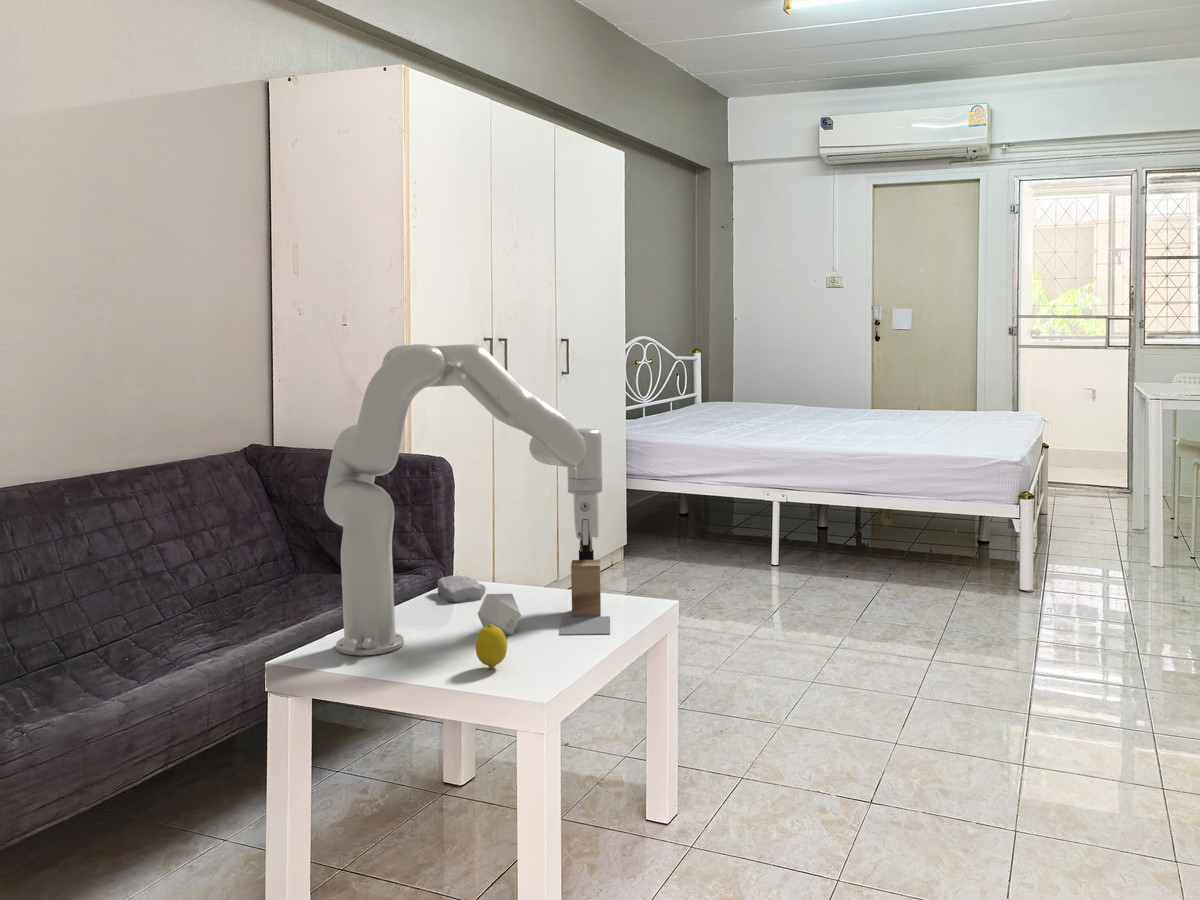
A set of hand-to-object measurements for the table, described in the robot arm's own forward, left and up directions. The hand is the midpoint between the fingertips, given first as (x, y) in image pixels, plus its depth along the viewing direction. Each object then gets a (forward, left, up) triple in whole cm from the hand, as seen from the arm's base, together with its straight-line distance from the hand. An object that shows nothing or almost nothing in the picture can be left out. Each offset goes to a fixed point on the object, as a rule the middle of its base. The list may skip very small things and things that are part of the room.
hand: (586, 568), depth 213 cm
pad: (-16, 0, -8) cm, 18 cm away
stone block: (+11, +29, -9) cm, 32 cm away
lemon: (-42, +16, -9) cm, 46 cm away
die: (-20, +17, -9) cm, 28 cm away
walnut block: (-6, 0, -8) cm, 11 cm away
